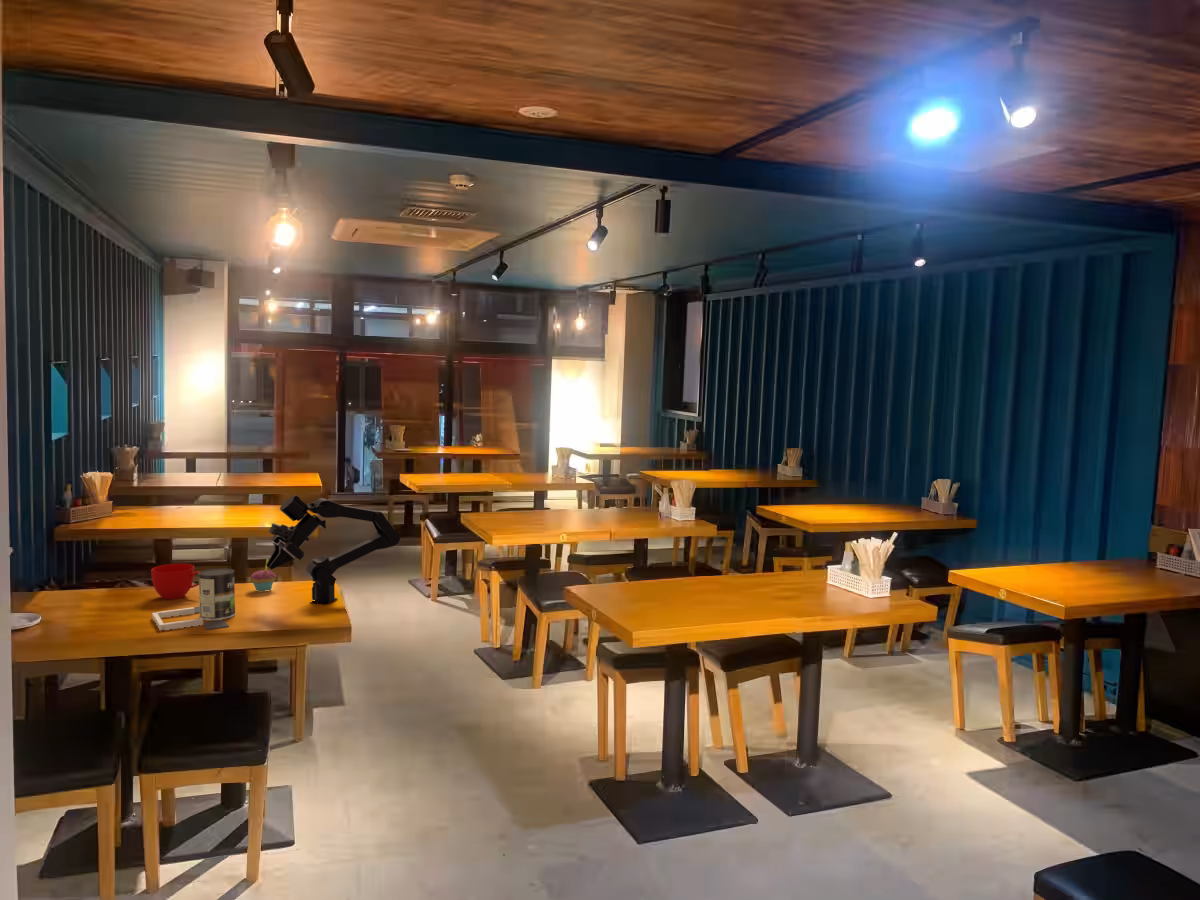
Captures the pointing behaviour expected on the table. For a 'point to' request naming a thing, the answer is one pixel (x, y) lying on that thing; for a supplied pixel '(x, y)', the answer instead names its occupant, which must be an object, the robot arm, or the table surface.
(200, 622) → the dock
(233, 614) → the coffee can
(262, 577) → the cupcake
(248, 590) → the table surface
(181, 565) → the ceramic cup
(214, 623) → the pair of grey pads
